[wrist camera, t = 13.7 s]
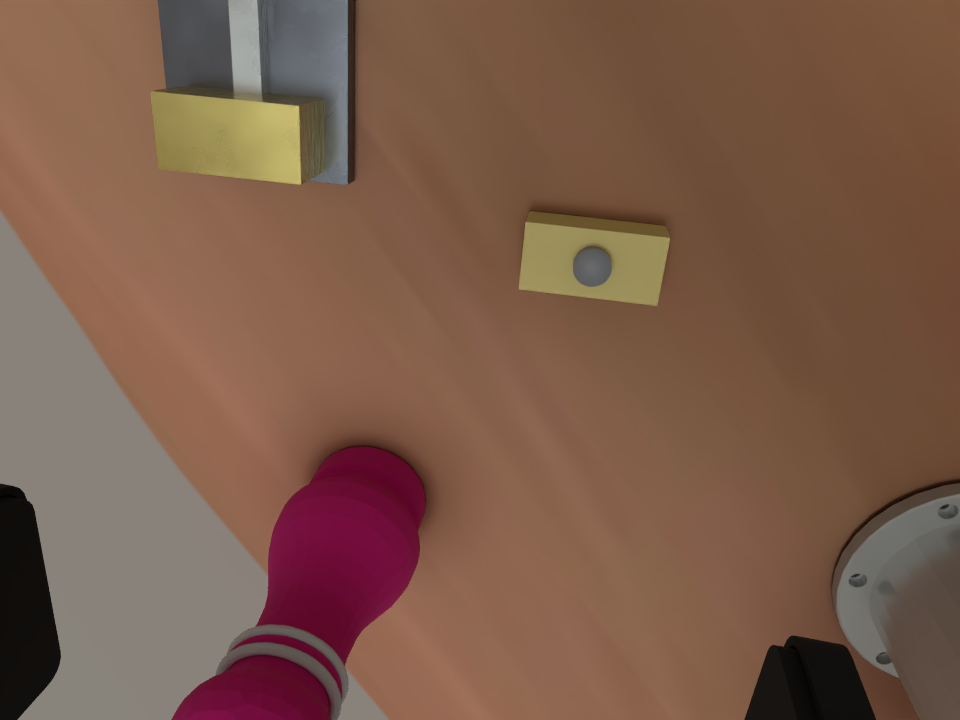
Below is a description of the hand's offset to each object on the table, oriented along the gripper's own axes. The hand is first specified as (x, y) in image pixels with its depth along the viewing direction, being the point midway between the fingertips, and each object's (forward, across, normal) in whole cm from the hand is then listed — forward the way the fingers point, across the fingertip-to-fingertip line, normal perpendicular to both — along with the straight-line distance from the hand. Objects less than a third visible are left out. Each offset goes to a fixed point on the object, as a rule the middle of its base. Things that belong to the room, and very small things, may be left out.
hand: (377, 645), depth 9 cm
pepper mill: (+26, +8, +16) cm, 32 cm away
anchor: (+26, -2, +1) cm, 26 cm away
